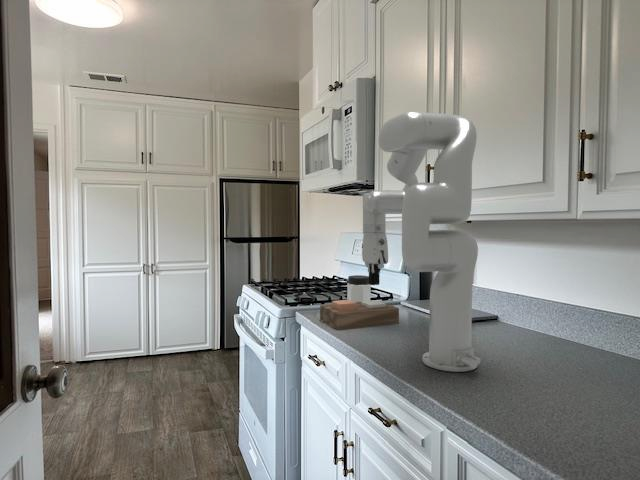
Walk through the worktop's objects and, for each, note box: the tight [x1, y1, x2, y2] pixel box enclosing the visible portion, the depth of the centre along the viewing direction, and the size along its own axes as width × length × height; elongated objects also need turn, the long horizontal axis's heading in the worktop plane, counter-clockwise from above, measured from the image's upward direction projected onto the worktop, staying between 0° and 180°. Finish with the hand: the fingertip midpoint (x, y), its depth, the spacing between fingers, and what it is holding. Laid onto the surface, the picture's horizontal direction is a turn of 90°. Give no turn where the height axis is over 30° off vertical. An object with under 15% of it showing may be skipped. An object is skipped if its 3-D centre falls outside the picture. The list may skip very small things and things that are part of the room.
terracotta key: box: [331, 299, 356, 311], centre depth 139 cm, size 6×6×4 cm
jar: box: [346, 274, 372, 302], centre depth 163 cm, size 9×8×12 cm
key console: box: [319, 301, 400, 331], centre depth 141 cm, size 14×22×5 cm, turn 113°
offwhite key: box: [361, 300, 387, 308], centre depth 143 cm, size 6×6×4 cm
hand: (374, 284), depth 143 cm, fingers closed
